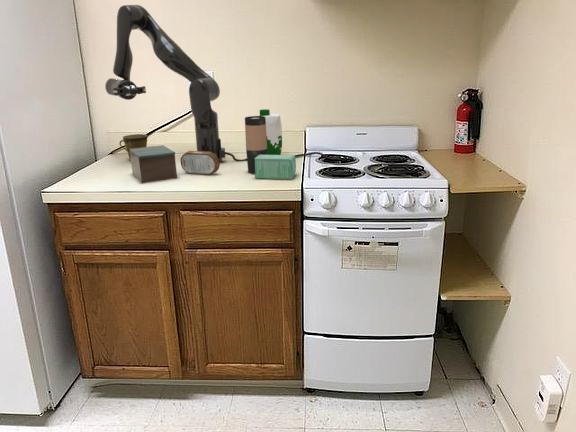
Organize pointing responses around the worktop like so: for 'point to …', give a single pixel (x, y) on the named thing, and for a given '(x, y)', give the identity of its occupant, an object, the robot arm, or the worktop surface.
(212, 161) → the tin
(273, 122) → the milk carton
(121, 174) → the worktop surface
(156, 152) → the lid
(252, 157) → the travel mug
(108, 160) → the worktop surface
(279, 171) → the box
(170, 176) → the chest
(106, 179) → the worktop surface
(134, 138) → the ceramic cup
